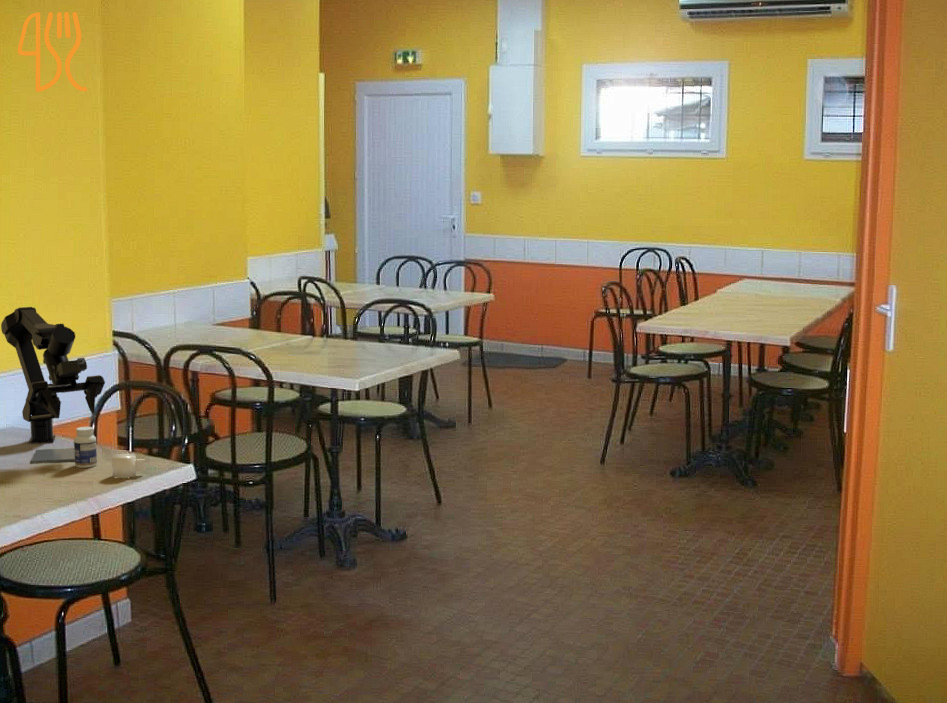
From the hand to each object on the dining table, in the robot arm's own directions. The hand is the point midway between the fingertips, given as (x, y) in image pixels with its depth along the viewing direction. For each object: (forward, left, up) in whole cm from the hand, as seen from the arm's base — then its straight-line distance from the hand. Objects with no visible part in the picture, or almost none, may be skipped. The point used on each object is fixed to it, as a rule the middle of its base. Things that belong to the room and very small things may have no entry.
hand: (75, 415), depth 303 cm
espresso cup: (+17, +14, -12) cm, 25 cm away
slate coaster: (-6, -6, -12) cm, 14 cm away
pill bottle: (+5, +2, -12) cm, 14 cm away
